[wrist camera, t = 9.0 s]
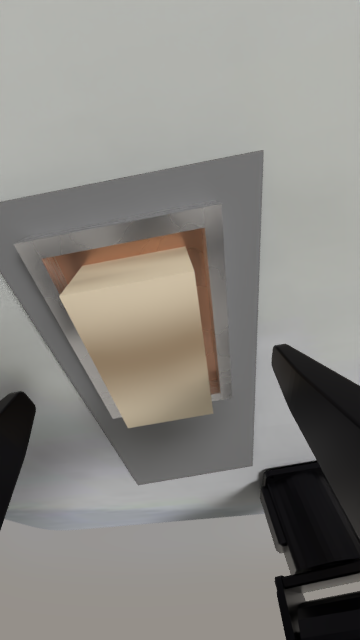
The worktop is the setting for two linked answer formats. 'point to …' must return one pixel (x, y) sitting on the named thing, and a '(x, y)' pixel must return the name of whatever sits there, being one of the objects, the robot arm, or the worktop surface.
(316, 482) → the robot arm
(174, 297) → the block
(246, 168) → the mat
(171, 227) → the frame
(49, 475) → the worktop surface
